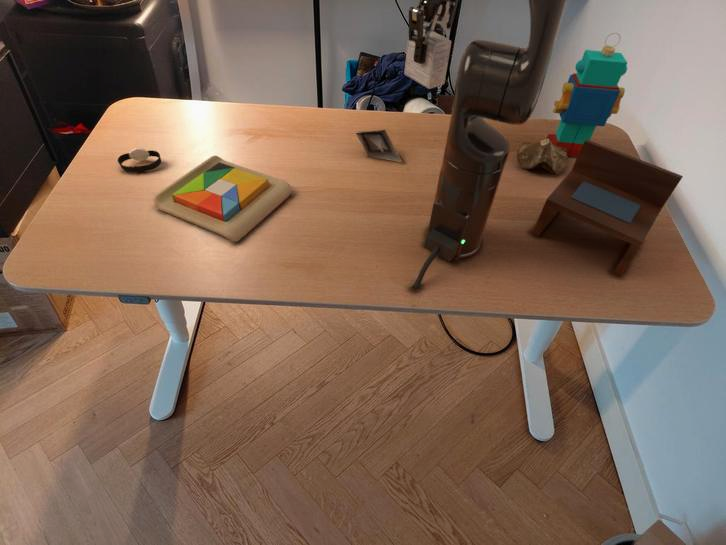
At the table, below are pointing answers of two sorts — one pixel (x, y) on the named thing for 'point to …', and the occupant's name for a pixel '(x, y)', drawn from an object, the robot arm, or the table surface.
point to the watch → (139, 155)
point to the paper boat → (378, 145)
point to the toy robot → (589, 98)
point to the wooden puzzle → (223, 197)
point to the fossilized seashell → (543, 156)
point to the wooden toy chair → (611, 195)
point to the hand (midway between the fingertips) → (427, 57)
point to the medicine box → (429, 61)
